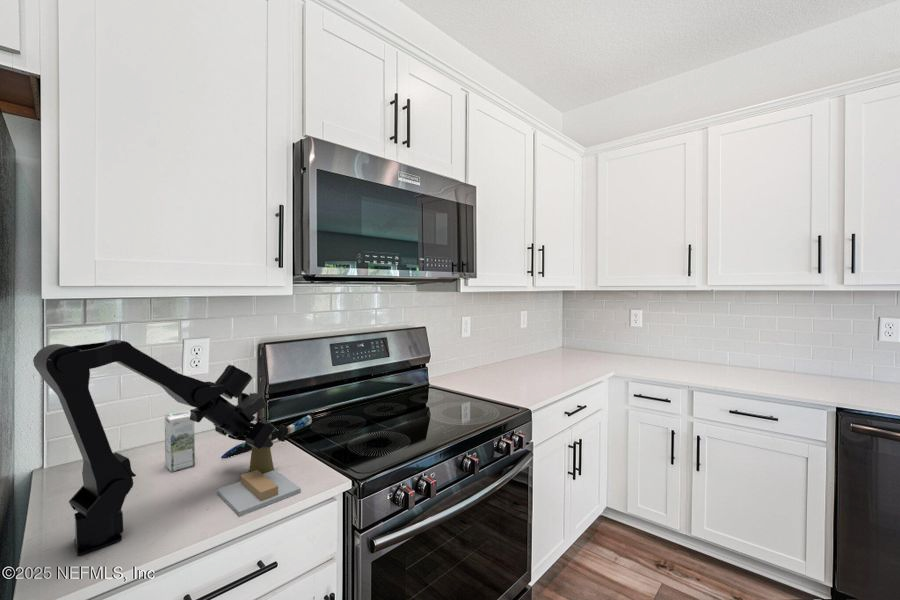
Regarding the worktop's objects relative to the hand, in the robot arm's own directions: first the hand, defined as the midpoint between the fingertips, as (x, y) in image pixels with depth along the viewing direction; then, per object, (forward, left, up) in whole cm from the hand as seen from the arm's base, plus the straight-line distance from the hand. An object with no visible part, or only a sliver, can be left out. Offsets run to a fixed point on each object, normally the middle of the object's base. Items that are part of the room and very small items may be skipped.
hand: (265, 443), depth 110 cm
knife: (+9, +17, -7) cm, 20 cm away
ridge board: (-6, -11, -7) cm, 15 cm away
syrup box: (-15, +19, -7) cm, 25 cm away
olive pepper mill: (-1, 0, -7) cm, 7 cm away
